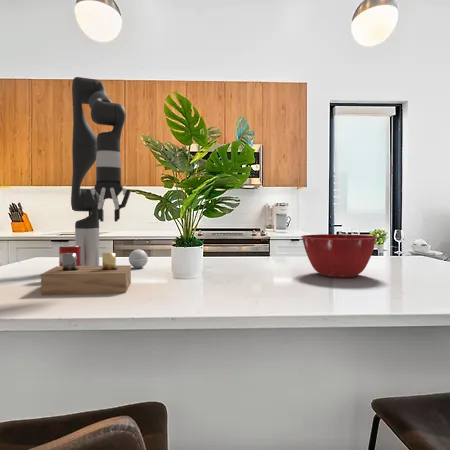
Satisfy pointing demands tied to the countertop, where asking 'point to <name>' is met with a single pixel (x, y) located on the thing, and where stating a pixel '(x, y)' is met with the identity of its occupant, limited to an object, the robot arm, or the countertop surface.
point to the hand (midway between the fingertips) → (108, 221)
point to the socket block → (86, 280)
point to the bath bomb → (138, 258)
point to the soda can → (70, 249)
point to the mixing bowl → (339, 253)
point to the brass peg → (109, 261)
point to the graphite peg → (69, 261)
